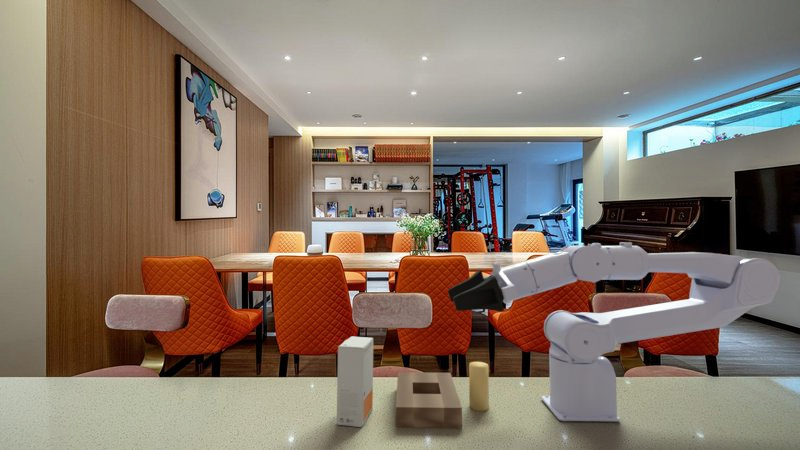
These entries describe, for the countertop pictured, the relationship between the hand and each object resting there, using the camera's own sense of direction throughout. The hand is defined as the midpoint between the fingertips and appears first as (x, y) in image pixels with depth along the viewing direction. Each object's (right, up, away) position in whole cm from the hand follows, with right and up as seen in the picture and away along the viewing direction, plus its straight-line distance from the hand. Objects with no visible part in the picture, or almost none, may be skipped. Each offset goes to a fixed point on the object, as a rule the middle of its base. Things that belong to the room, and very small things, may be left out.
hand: (451, 299), depth 60 cm
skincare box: (-16, -18, -4) cm, 24 cm away
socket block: (-4, -18, 0) cm, 19 cm away
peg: (+5, -18, 0) cm, 19 cm away
